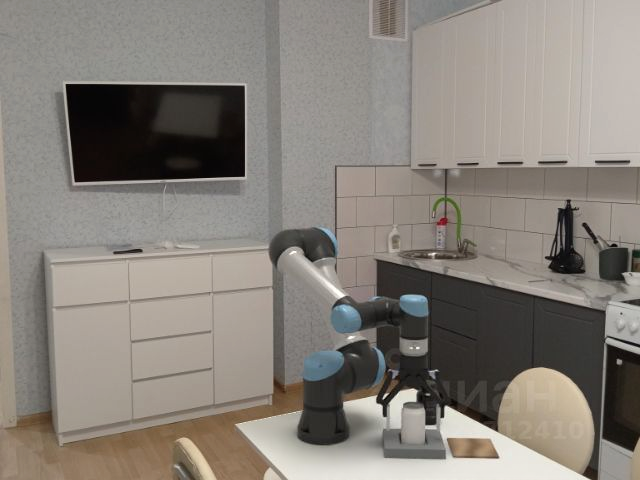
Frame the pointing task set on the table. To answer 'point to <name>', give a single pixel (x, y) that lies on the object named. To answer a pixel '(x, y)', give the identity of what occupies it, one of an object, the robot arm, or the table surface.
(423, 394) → the supplement bottle
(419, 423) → the can
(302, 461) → the table surface
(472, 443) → the pad
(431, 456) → the plate
